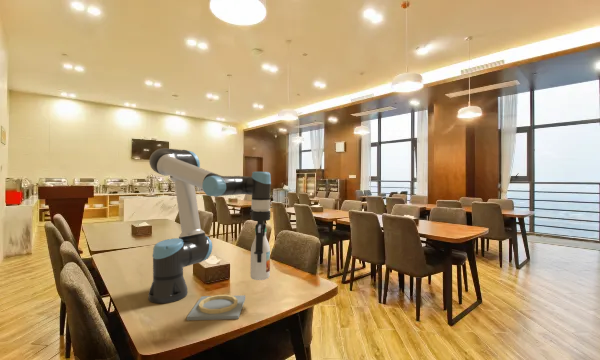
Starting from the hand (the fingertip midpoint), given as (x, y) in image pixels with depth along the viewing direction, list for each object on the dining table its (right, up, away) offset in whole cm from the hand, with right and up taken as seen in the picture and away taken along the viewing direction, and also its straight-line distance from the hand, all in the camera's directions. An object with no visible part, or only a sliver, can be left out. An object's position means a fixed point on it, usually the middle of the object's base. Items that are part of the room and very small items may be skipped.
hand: (260, 266), depth 117 cm
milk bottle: (0, -4, 0) cm, 4 cm away
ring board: (-15, -14, -5) cm, 22 cm away
